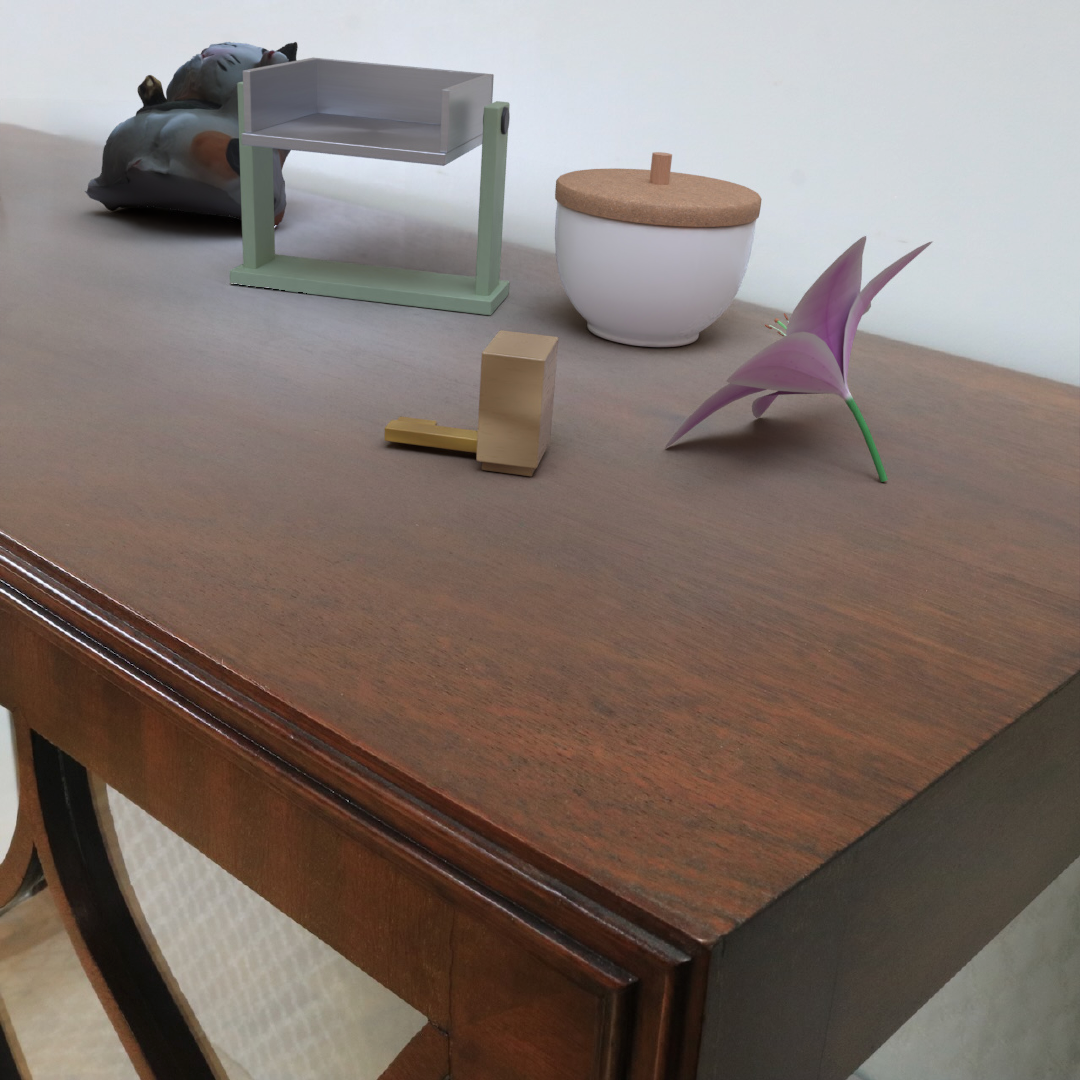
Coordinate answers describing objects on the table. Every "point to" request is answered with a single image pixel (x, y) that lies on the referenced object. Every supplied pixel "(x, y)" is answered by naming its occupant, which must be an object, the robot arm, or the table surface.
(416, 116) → the shallow metal tray
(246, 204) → the bracket
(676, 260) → the trinket box
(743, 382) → the lily
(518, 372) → the tan blocky wooden piece
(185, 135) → the lucky cat figurine
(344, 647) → the table surface
